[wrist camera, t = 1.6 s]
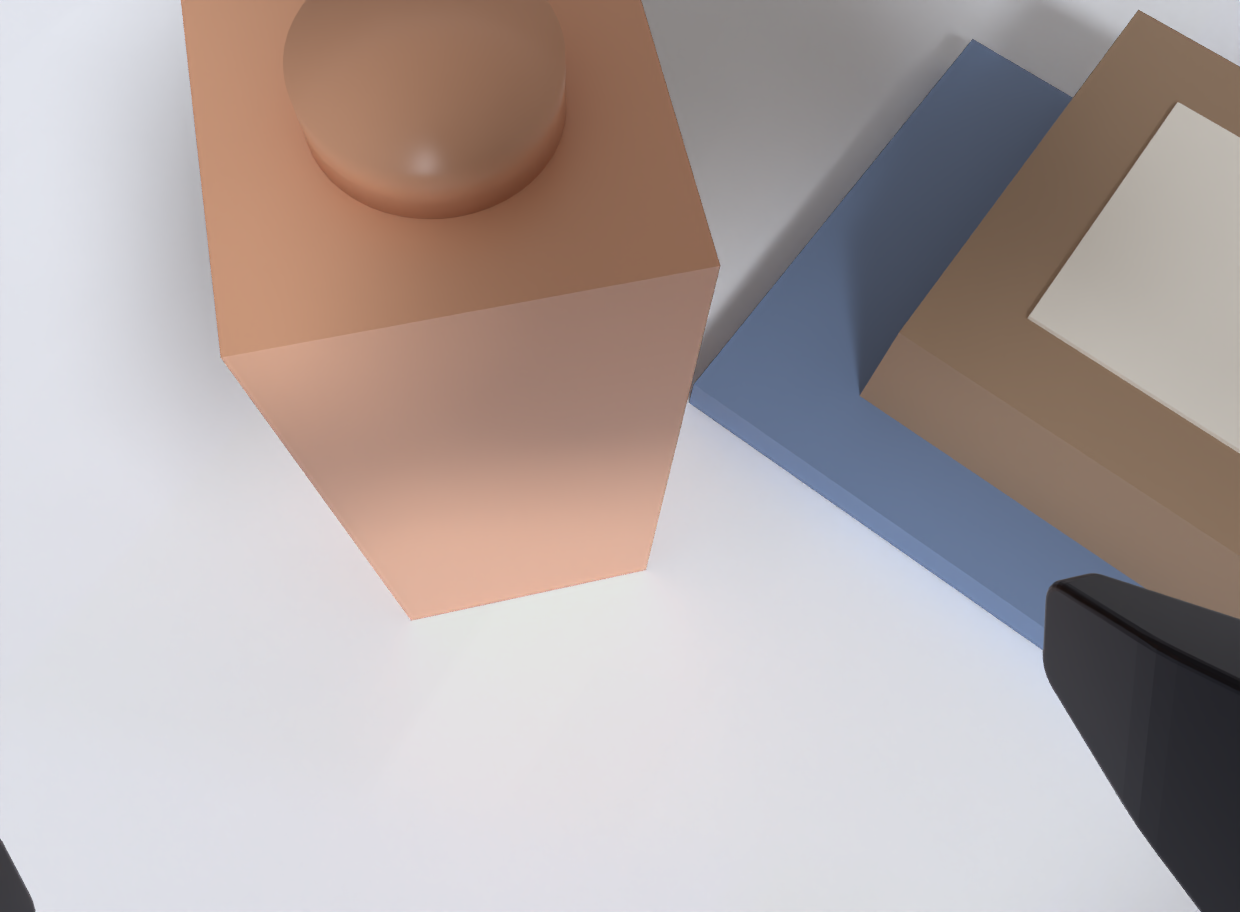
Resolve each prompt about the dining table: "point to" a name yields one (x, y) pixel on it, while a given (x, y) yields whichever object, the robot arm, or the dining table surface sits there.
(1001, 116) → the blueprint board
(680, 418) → the column
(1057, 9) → the dining table surface
